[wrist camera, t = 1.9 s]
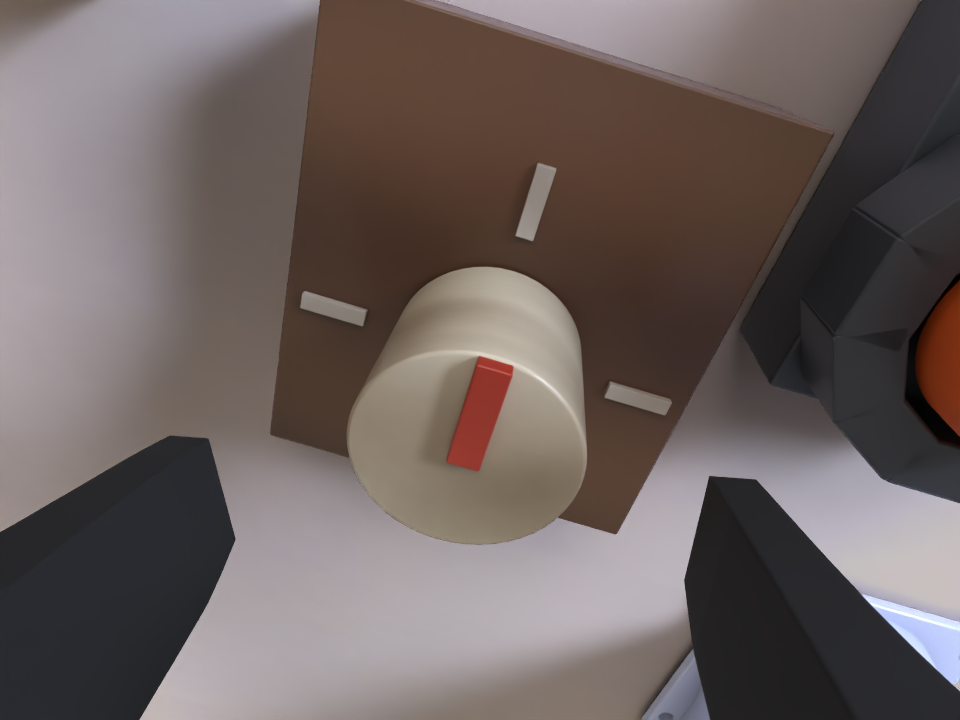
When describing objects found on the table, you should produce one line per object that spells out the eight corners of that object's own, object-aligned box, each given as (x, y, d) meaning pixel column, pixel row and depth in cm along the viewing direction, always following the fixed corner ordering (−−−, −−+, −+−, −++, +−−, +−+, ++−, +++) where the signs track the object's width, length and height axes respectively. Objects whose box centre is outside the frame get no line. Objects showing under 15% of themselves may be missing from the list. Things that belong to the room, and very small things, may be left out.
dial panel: (607, 463, 18) (615, 543, 15) (311, 376, 18) (265, 442, 15) (781, 108, 13) (840, 134, 10) (371, -21, 13) (318, -30, 10)
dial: (546, 449, 14) (541, 583, 11) (381, 400, 14) (323, 522, 11) (609, 298, 12) (627, 406, 9) (416, 240, 12) (361, 327, 9)
